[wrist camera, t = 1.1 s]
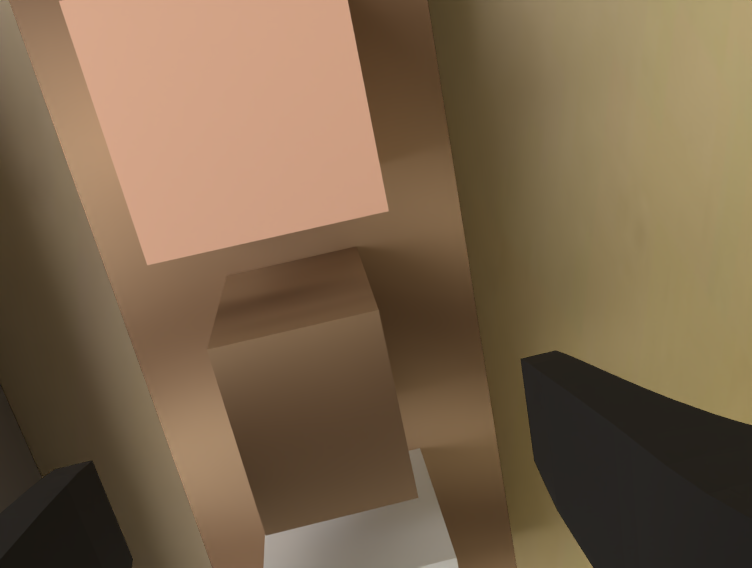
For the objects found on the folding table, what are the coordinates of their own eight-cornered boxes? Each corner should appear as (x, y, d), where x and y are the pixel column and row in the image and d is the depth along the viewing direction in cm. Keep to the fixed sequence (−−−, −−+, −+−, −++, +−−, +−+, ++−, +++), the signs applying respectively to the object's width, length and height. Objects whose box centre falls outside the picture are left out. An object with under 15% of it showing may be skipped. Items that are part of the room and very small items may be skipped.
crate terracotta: (363, 170, 15) (388, 210, 11) (183, 209, 15) (147, 265, 11) (323, -26, 13) (336, -56, 10) (123, 14, 13) (59, 1, 9)
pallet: (497, 527, 21) (574, 702, 15) (244, 590, 21) (228, 794, 15) (397, -75, 15) (462, -149, 9) (41, -3, 15) (-112, -35, 9)
